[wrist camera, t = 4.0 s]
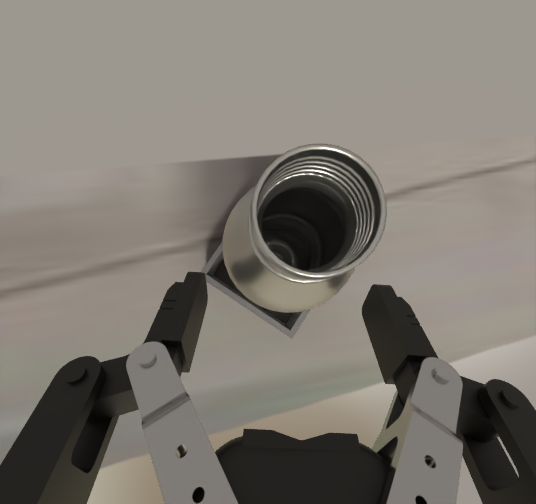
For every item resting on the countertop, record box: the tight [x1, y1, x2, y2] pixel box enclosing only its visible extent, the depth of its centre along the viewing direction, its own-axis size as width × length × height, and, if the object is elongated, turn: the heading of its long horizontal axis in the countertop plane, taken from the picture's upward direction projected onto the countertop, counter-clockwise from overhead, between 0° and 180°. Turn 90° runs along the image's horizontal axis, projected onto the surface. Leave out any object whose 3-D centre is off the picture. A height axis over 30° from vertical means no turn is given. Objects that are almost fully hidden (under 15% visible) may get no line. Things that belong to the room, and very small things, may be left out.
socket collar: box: [201, 241, 310, 338], centre depth 24 cm, size 10×10×4 cm
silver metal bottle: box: [222, 144, 387, 313], centre depth 16 cm, size 6×7×20 cm
